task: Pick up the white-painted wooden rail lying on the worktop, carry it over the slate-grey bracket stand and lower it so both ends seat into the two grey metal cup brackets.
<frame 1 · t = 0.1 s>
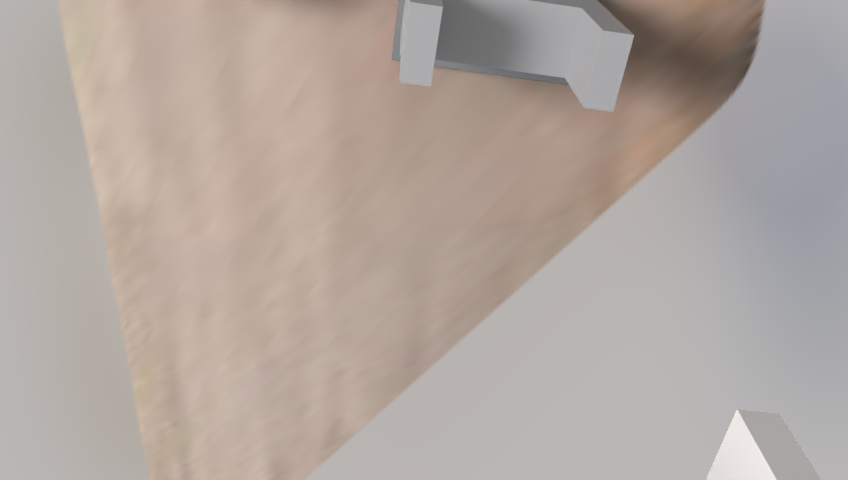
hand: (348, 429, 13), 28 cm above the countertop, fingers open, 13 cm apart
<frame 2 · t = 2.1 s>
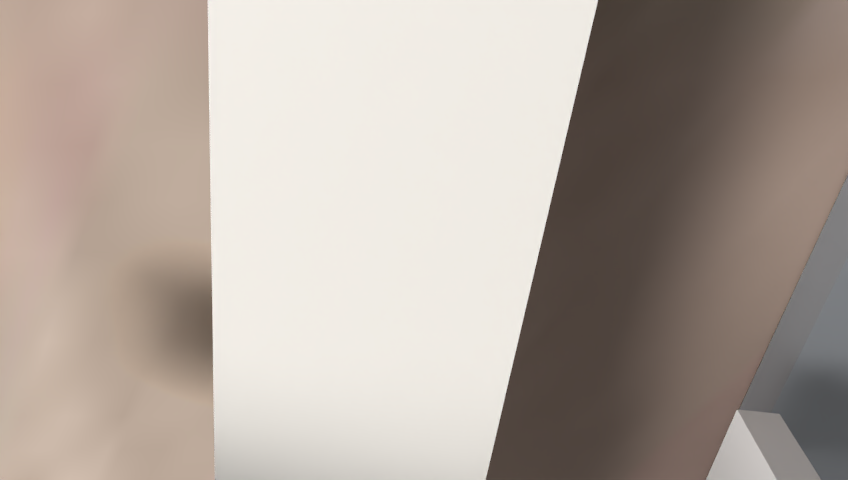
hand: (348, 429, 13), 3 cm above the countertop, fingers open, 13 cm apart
rail: (368, 295, 16), on the countertop
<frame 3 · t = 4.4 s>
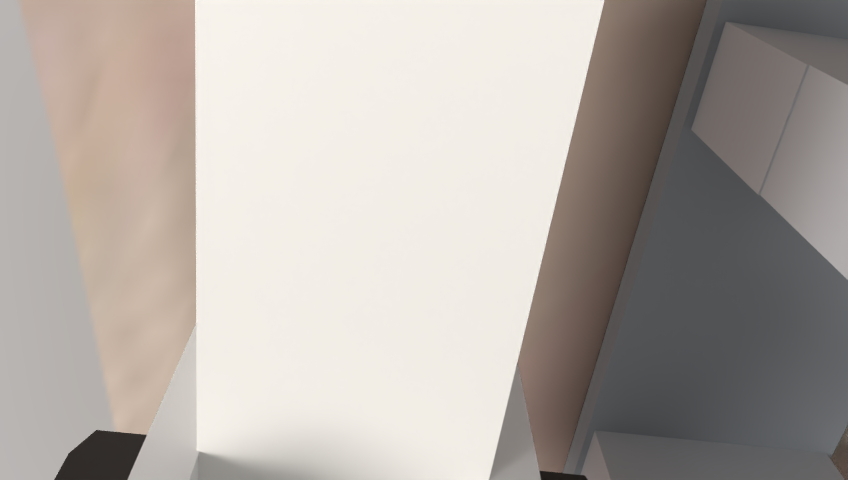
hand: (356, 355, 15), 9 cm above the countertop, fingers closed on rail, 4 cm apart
bracket stand: (753, 294, 25), on the countertop
rail: (358, 342, 15), point 8 cm above the countertop, touching gripper
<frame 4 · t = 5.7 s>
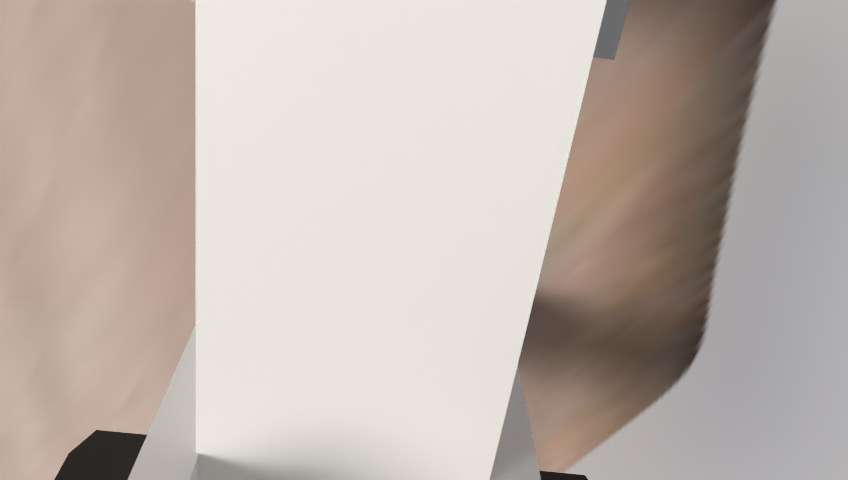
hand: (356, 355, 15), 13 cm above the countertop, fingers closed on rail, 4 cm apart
bracket stand: (387, 127, 26), on the countertop
rail: (357, 344, 15), point 12 cm above the countertop, touching gripper
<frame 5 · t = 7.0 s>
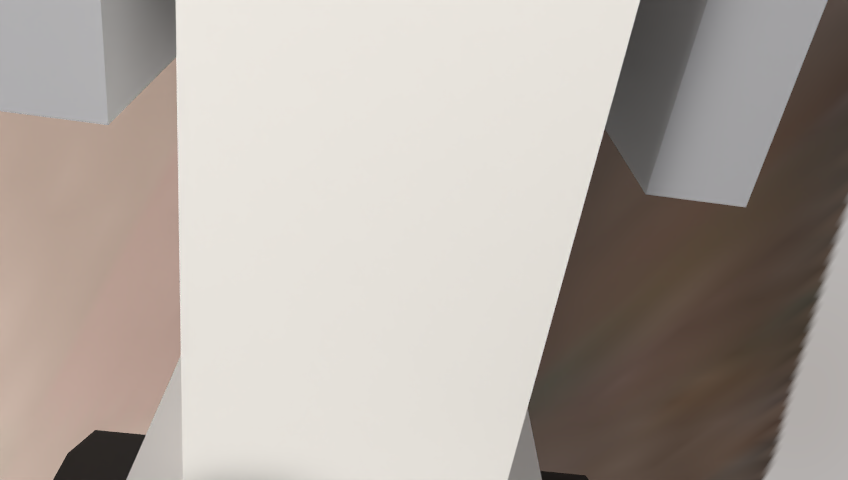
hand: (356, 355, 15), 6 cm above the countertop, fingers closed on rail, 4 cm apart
bracket stand: (371, 210, 19), on the countertop
rail: (356, 356, 15), point 5 cm above the countertop, touching bracket stand, gripper
when the fingers open (5 cm above the countertop, at t = 7.3 s): rail stays where it is, resting on bracket stand.
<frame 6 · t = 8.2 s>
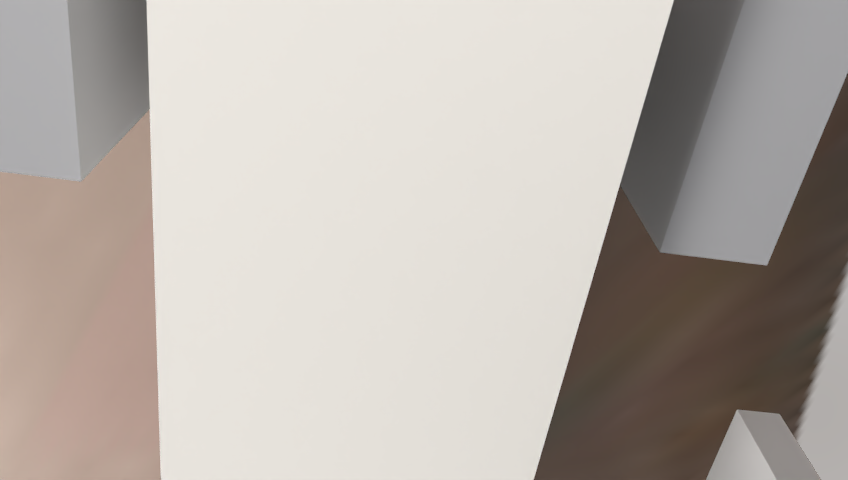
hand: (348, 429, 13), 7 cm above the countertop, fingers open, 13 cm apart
bracket stand: (368, 241, 19), on the countertop
rail: (351, 401, 14), point 5 cm above the countertop, touching bracket stand
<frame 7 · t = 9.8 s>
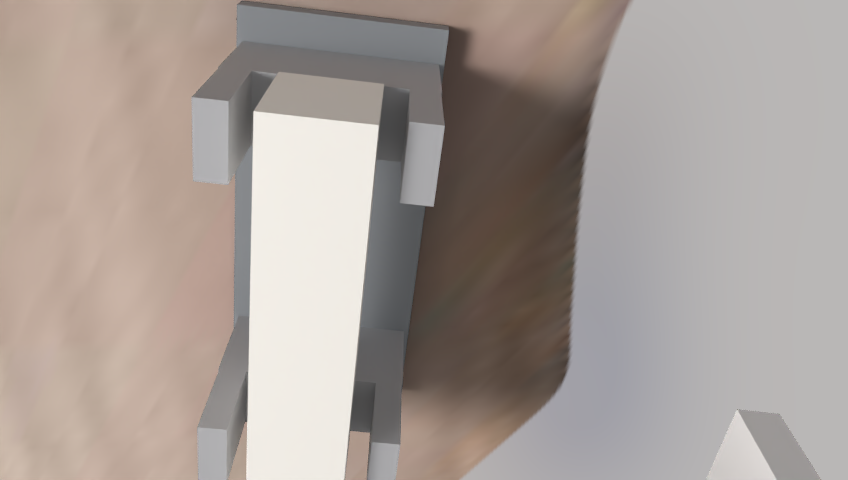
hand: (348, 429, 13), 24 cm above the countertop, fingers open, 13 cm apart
bracket stand: (330, 219, 37), on the countertop
rail: (318, 282, 33), point 5 cm above the countertop, touching bracket stand
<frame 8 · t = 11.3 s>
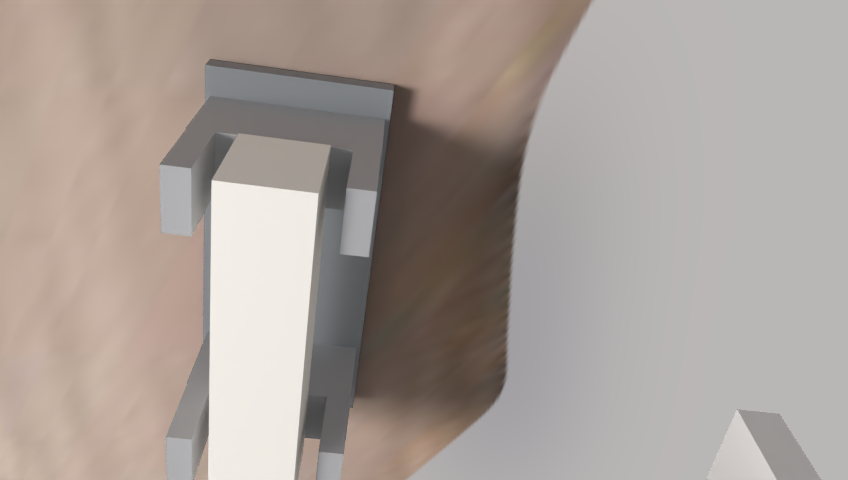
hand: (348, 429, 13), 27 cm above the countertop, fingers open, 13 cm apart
bracket stand: (290, 248, 42), on the countertop
rail: (274, 310, 37), point 5 cm above the countertop, touching bracket stand
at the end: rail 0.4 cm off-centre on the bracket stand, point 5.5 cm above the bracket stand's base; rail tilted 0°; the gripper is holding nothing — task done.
